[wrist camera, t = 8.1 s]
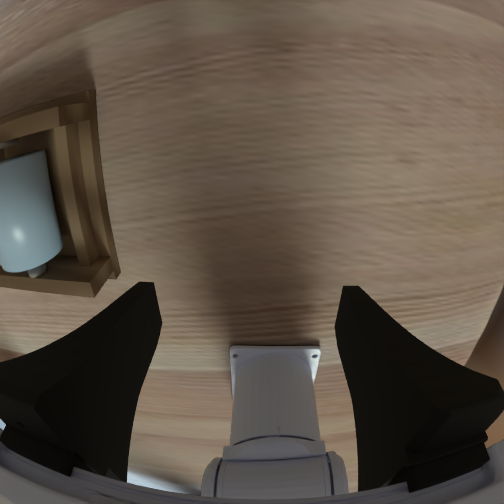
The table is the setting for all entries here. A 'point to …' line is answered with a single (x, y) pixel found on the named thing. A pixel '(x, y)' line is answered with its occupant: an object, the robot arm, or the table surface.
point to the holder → (66, 194)
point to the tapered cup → (27, 213)
